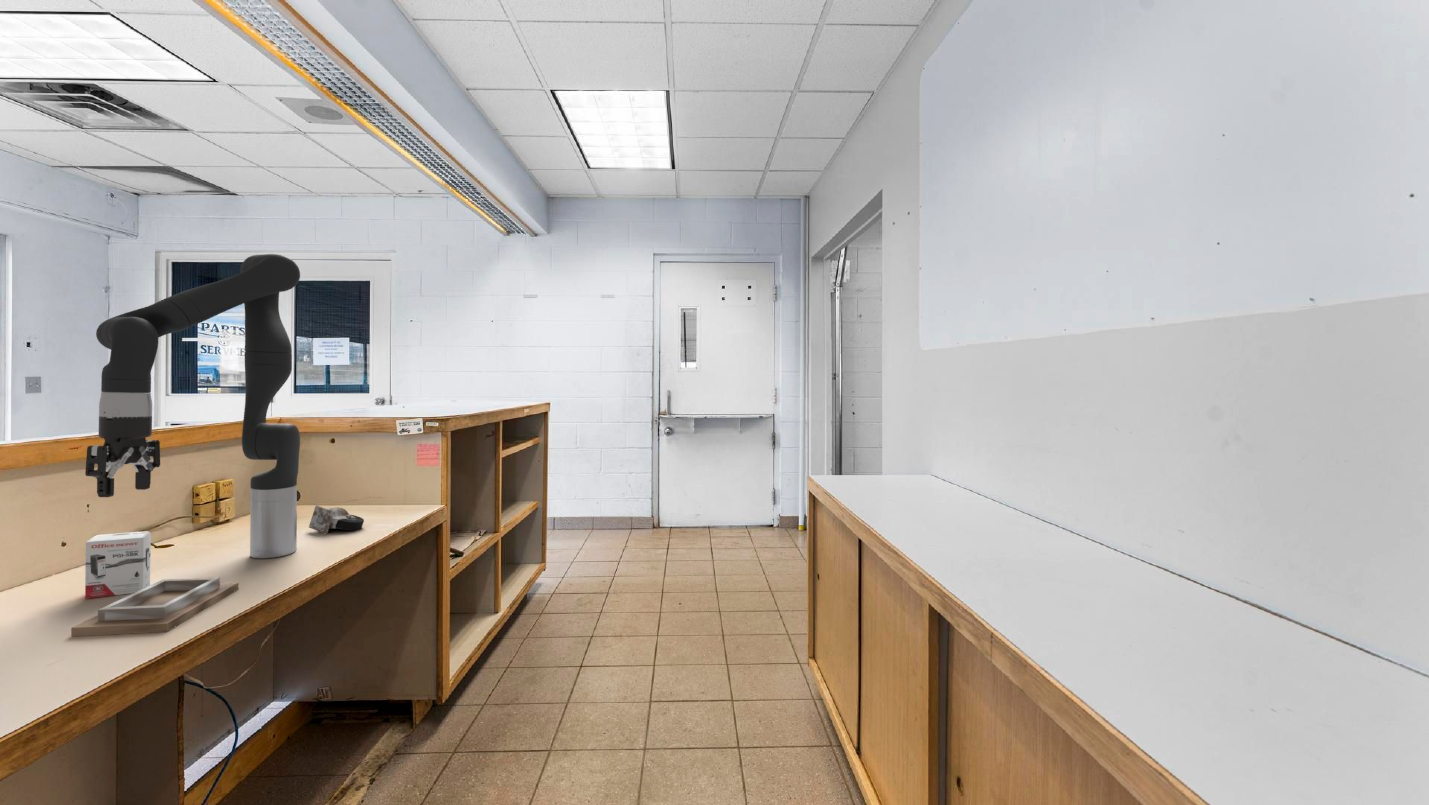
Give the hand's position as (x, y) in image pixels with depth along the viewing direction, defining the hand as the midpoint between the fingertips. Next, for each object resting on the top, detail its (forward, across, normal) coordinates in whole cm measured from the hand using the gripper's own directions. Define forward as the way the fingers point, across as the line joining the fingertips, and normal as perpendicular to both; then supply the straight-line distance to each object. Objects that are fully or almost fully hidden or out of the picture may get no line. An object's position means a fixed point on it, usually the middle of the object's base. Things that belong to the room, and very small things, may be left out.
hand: (124, 493), depth 114 cm
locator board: (+21, +10, +14) cm, 27 cm away
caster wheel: (+20, -48, +19) cm, 55 cm away
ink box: (+21, 0, -1) cm, 21 cm away
